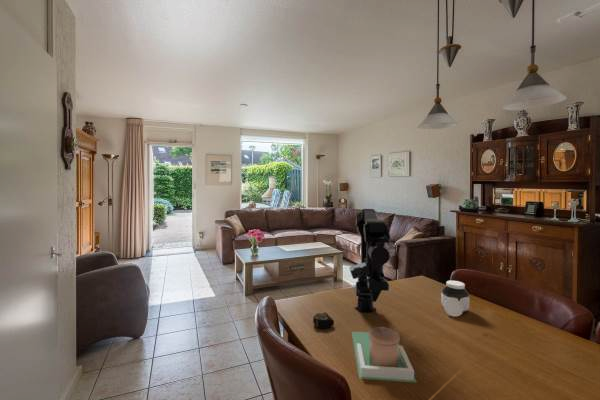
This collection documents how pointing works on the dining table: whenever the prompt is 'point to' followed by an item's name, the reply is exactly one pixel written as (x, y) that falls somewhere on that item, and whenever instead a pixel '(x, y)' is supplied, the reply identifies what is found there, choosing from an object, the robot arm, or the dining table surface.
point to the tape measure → (323, 320)
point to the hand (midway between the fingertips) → (374, 301)
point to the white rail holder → (386, 372)
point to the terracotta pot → (383, 347)
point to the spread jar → (455, 298)
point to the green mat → (365, 345)
